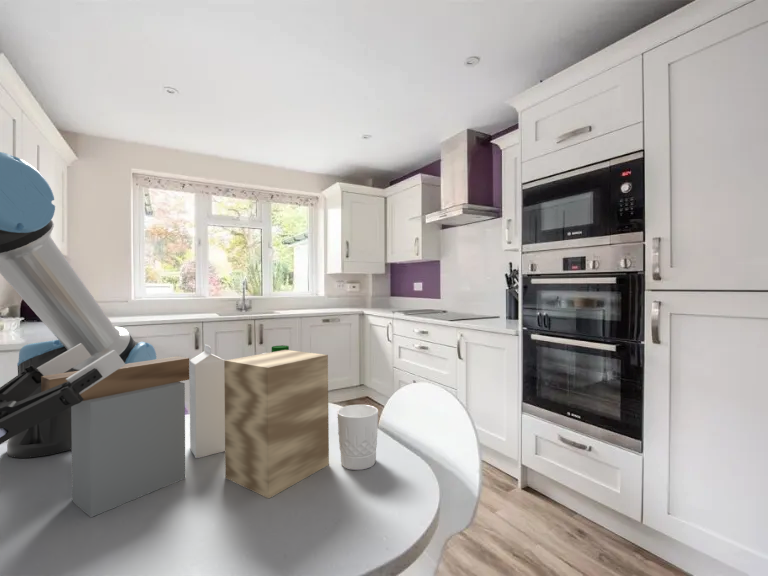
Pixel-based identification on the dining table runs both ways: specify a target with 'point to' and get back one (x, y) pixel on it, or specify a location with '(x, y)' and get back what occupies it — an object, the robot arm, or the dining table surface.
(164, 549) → the dining table surface
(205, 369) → the milk
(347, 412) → the white cup
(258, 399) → the oak block
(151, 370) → the bar
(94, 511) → the grey block
